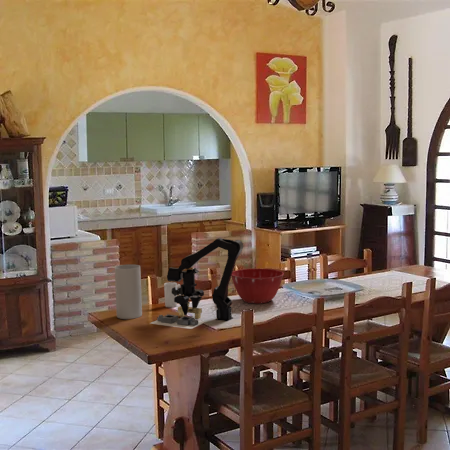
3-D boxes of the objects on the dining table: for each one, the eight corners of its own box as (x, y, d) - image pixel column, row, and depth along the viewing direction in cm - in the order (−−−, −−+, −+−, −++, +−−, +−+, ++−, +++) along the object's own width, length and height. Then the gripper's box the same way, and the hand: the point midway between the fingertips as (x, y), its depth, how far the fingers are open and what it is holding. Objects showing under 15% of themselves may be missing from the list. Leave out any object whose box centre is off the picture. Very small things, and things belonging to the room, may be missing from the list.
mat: (205, 322, 300) (205, 321, 299) (191, 329, 288) (191, 328, 288) (165, 317, 310) (165, 316, 310) (149, 324, 299) (149, 323, 299)
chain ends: (200, 323, 297) (199, 318, 297) (193, 326, 292) (193, 321, 291) (162, 318, 307) (162, 313, 307) (155, 321, 302) (155, 316, 301)
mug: (168, 308, 329) (167, 285, 328) (162, 305, 335) (161, 283, 333) (185, 305, 335) (184, 282, 333) (179, 302, 340) (178, 280, 339)
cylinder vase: (129, 321, 305) (127, 270, 302) (111, 317, 313) (109, 267, 310) (147, 315, 315) (145, 266, 312) (129, 312, 323) (127, 263, 320)
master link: (202, 318, 307) (201, 308, 307) (198, 319, 305) (198, 309, 304) (181, 315, 313) (180, 305, 313) (177, 317, 310) (177, 307, 310)
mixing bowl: (258, 292, 361) (258, 265, 359) (295, 300, 339) (294, 272, 337) (220, 300, 343) (219, 272, 341) (256, 310, 321) (255, 280, 319)
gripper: (185, 277, 319) (185, 307, 321) (164, 284, 303) (165, 316, 304) (204, 278, 314) (204, 309, 315) (184, 286, 297) (185, 318, 299)
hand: (189, 313), depth 309 cm, fingers open, 8 cm apart
